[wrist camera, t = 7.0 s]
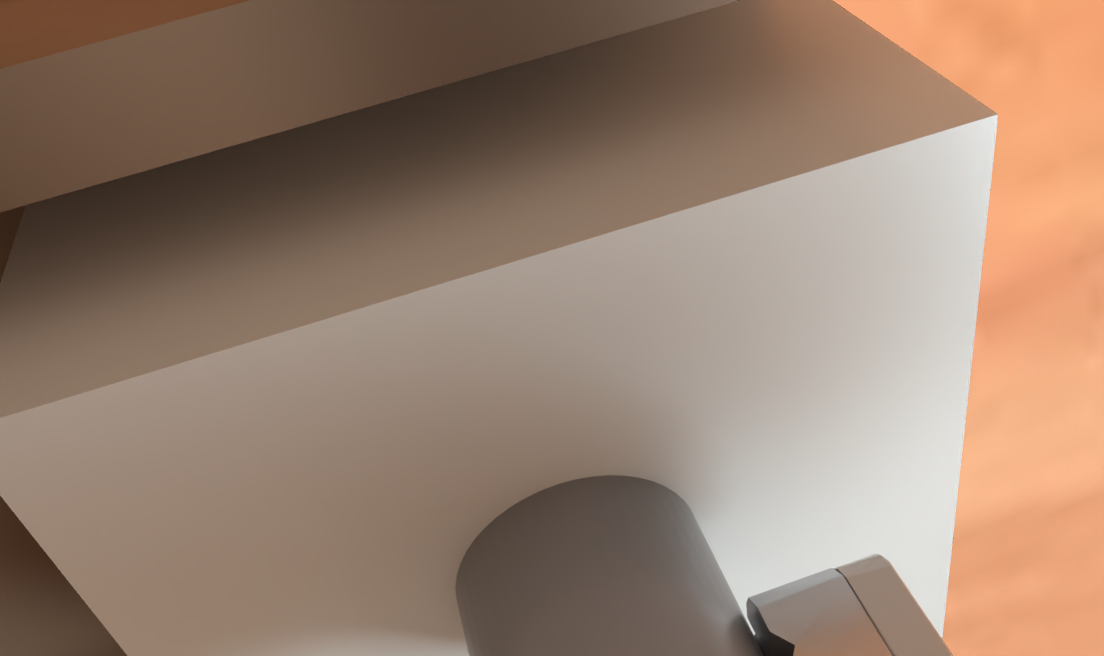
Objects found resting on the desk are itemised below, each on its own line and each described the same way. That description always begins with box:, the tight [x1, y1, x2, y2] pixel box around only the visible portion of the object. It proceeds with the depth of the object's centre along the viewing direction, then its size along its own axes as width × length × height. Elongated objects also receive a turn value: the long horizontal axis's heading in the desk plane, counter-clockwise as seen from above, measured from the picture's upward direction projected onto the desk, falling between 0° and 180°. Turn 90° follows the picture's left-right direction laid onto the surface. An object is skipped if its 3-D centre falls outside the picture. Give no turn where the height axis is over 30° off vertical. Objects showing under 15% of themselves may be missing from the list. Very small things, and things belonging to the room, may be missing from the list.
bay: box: [0, 0, 739, 656], centre depth 13 cm, size 22×14×9 cm, turn 100°
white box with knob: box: [0, 0, 998, 656], centre depth 12 cm, size 10×9×10 cm
